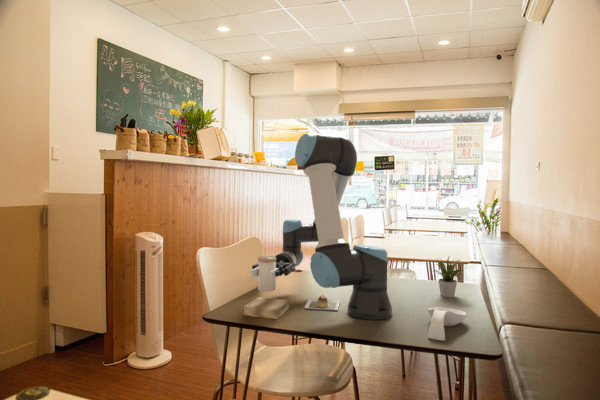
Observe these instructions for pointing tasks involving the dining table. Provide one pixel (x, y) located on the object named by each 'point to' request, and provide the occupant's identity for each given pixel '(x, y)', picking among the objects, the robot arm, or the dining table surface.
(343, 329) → the dining table surface
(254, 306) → the base
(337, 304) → the dessert
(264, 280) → the canister
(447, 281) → the house plant
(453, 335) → the dining table surface
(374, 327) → the dining table surface
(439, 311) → the spoon rest
